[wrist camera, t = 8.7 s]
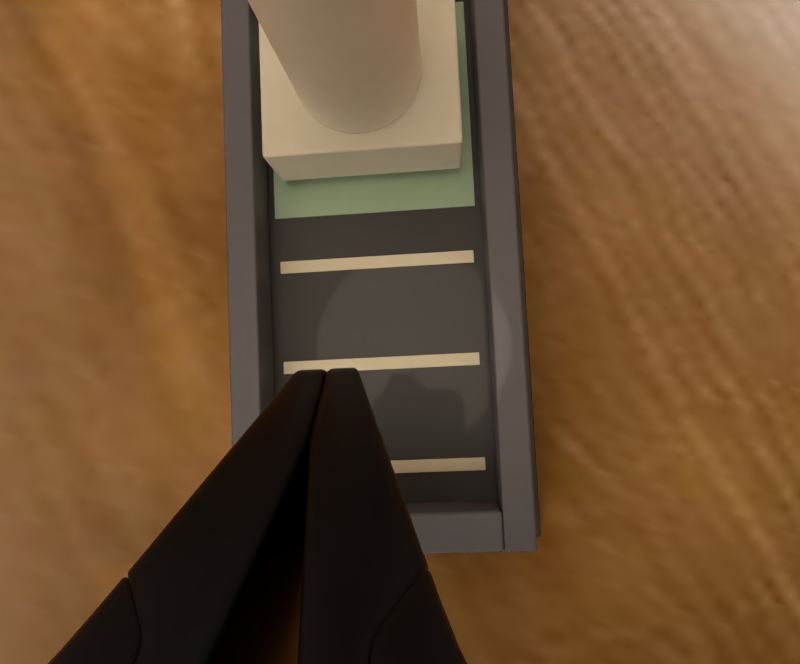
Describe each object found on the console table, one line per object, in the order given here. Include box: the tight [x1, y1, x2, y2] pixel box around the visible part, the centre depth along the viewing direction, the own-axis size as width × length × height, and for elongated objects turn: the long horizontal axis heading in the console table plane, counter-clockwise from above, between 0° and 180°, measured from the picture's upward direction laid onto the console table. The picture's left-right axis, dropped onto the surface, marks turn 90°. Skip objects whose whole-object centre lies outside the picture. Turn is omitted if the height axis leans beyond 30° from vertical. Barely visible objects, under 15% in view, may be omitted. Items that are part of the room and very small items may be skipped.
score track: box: [221, 0, 541, 554], centre depth 15 cm, size 14×7×2 cm, turn 3°
